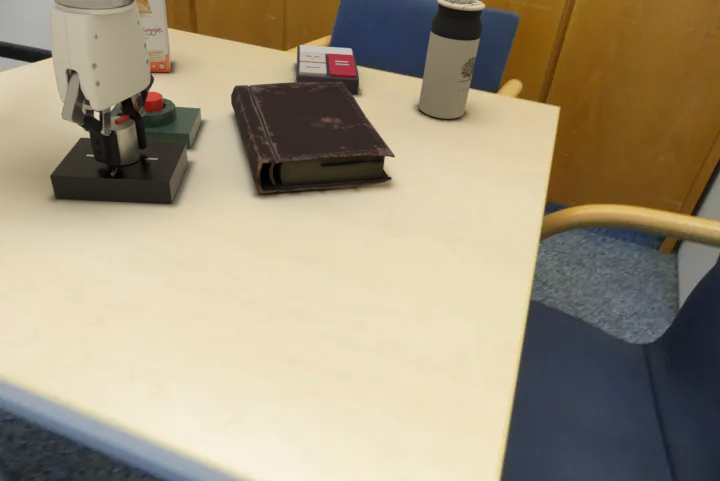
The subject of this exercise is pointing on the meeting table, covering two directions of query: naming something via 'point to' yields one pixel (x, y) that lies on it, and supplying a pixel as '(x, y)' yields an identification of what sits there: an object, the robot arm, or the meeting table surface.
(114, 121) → the hob knob
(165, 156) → the knob base
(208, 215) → the meeting table surface
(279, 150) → the diary
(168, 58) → the cracker box
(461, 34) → the travel mug
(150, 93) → the button
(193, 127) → the button base
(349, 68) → the calculator
